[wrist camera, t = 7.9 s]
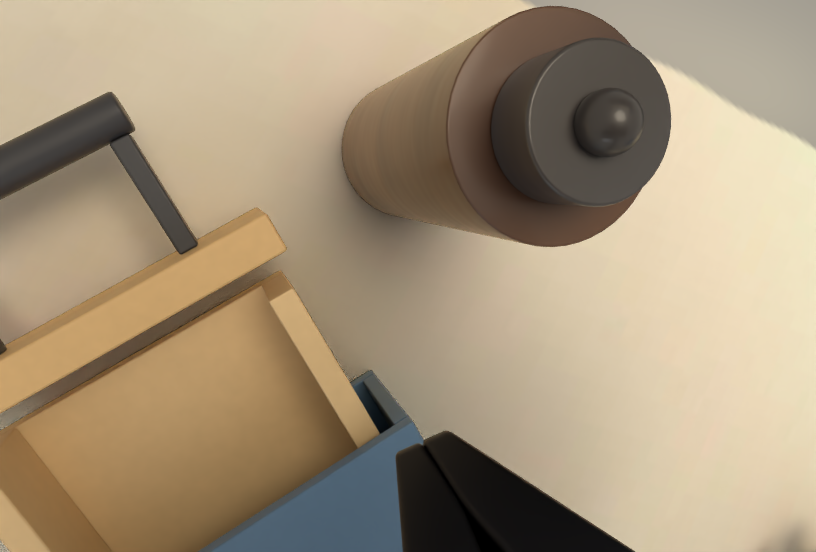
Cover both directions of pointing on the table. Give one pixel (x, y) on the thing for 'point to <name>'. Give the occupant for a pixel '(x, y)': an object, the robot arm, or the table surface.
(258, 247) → the drawer
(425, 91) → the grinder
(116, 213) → the table surface
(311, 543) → the cabinet
